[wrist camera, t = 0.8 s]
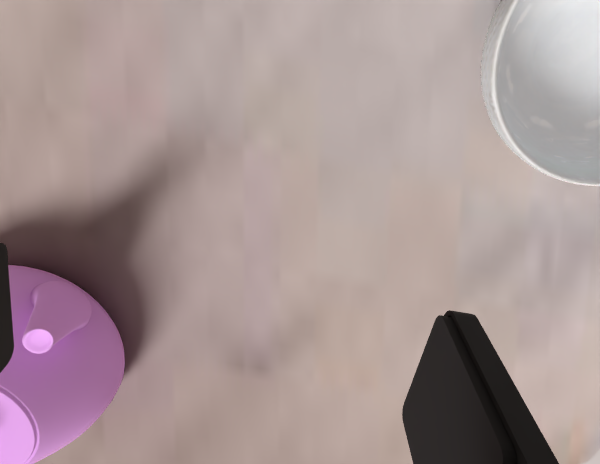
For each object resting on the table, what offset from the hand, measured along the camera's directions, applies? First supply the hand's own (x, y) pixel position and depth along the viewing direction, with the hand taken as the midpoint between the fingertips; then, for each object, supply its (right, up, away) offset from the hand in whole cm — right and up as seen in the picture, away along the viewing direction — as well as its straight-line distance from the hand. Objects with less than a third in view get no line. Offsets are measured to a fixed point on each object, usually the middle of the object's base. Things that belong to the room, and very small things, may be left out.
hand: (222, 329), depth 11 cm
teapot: (-23, -7, +36) cm, 43 cm away
